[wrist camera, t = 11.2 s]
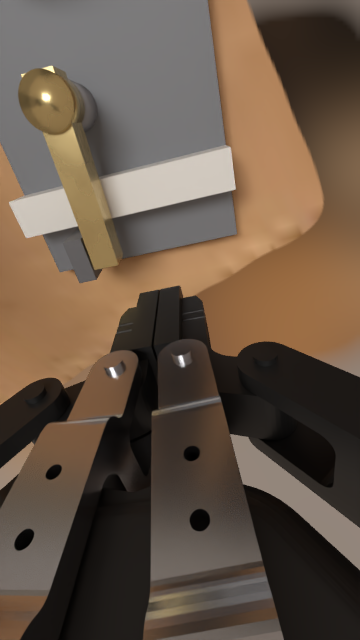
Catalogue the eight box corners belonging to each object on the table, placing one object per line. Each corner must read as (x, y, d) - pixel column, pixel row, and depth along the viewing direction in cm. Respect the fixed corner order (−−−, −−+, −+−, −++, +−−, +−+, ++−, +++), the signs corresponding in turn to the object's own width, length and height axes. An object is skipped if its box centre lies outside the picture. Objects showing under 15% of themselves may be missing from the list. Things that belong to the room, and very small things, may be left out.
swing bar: (28, 82, 20) (8, 76, 18) (74, 69, 20) (59, 61, 18) (94, 260, 27) (86, 273, 24) (130, 253, 26) (124, 265, 24)
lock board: (66, 264, 33) (38, 297, 27) (-45, 14, 23) (-133, -31, 16) (233, 228, 31) (247, 254, 24) (195, -67, 21) (201, -155, 14)
